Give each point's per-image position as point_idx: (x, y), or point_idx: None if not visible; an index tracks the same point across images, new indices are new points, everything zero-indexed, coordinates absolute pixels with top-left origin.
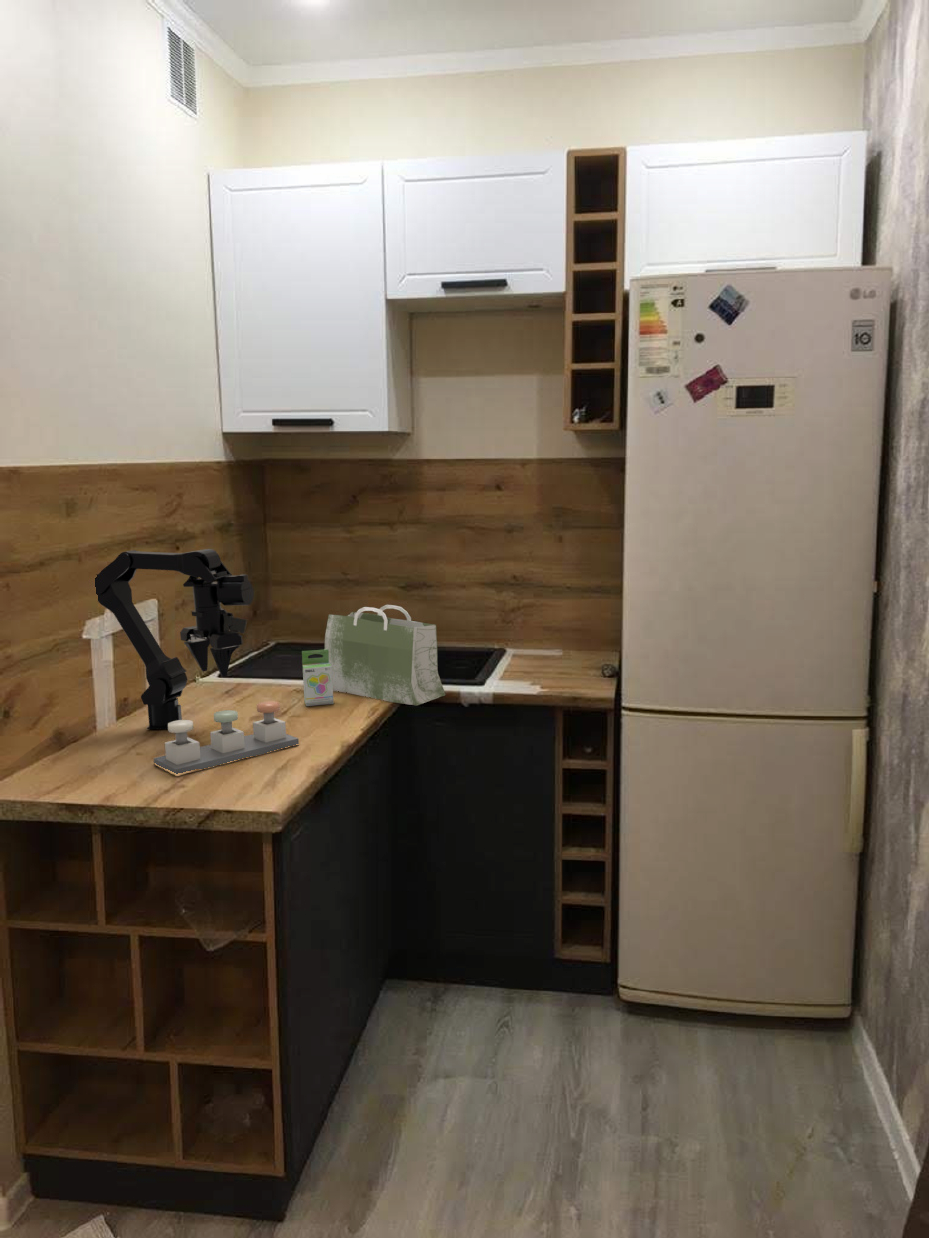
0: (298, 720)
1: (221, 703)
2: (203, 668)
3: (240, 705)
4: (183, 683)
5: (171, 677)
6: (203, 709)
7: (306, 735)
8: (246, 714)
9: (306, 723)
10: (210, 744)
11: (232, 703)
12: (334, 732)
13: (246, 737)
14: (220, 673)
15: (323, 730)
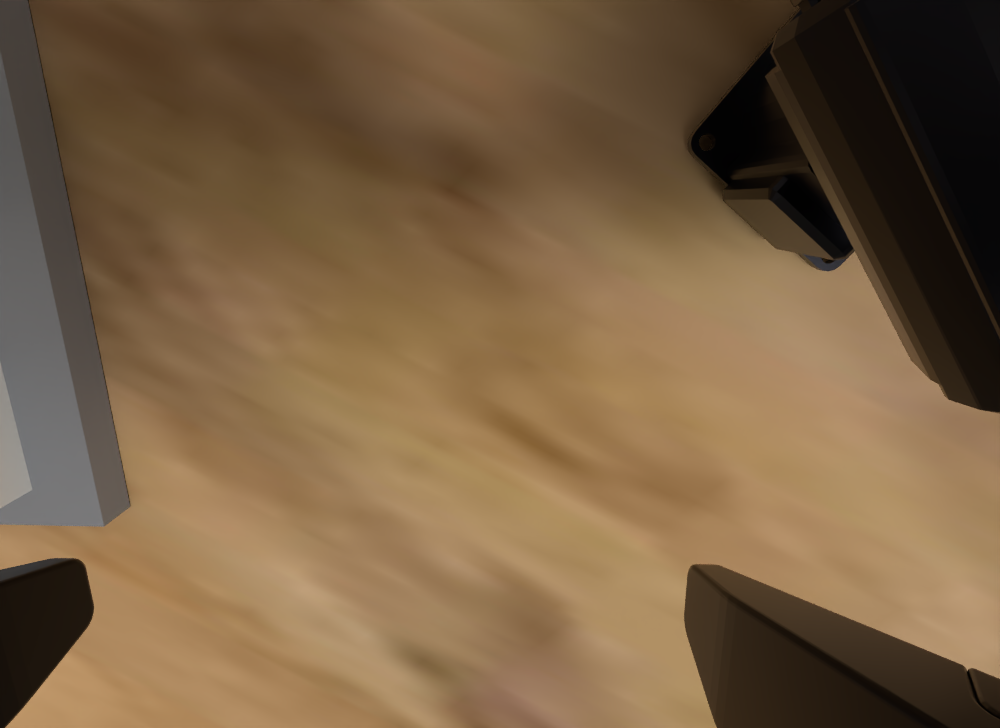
0: (316, 719)
1: (990, 645)
2: (701, 603)
3: None
4: (889, 308)
5: (850, 9)
6: (971, 512)
7: None
8: (636, 617)
9: (239, 714)
10: (6, 83)
11: None
12: None
13: (29, 333)
14: (16, 570)
15: (73, 700)
